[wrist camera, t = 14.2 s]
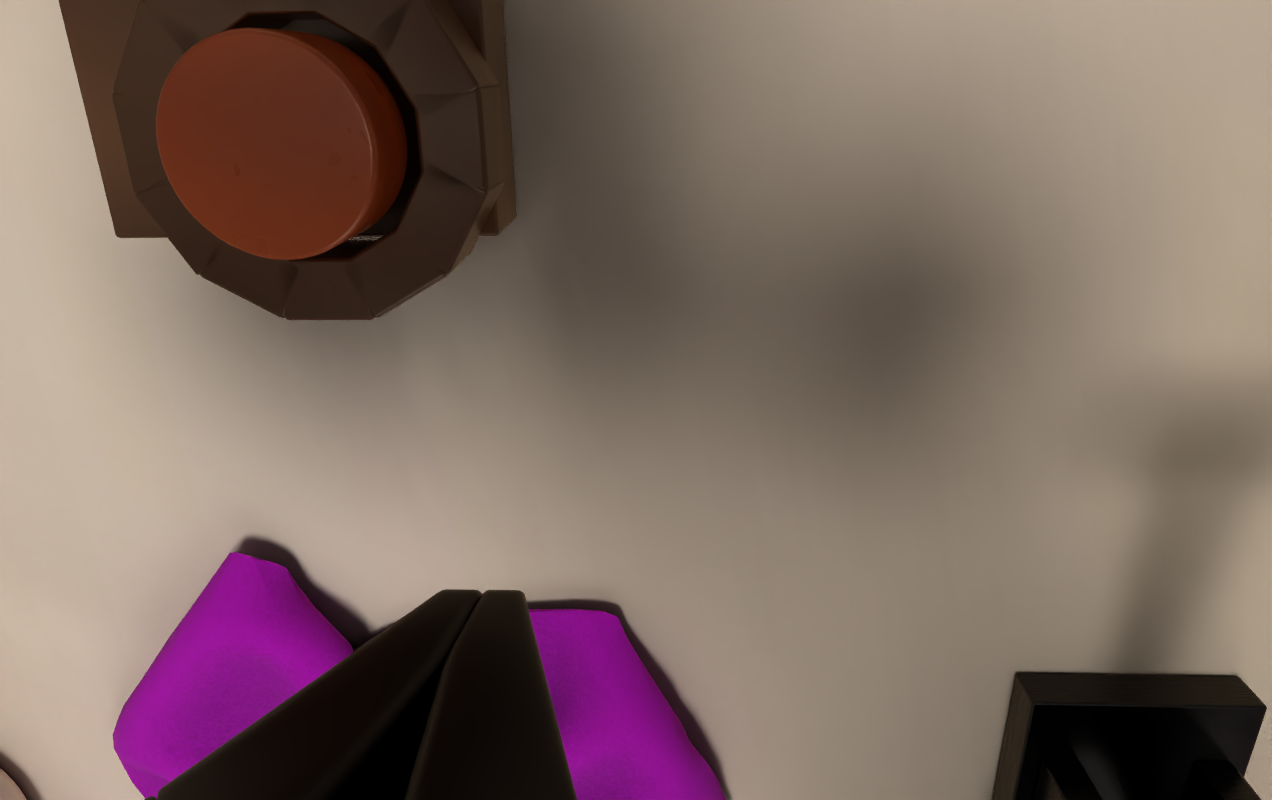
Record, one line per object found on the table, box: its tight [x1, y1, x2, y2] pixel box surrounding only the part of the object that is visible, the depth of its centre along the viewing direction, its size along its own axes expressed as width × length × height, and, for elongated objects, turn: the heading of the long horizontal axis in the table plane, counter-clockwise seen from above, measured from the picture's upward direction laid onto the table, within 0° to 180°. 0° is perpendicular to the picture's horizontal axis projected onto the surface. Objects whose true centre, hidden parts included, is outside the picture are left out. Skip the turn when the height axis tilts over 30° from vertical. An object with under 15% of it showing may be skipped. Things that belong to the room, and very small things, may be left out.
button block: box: [59, 0, 517, 320], centre depth 16 cm, size 10×8×4 cm
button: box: [156, 27, 408, 260], centre depth 14 cm, size 4×4×2 cm
